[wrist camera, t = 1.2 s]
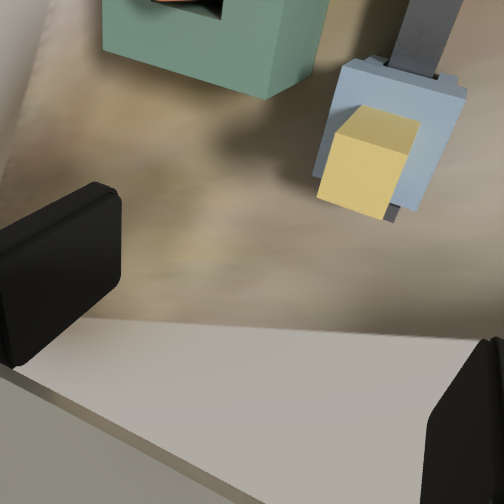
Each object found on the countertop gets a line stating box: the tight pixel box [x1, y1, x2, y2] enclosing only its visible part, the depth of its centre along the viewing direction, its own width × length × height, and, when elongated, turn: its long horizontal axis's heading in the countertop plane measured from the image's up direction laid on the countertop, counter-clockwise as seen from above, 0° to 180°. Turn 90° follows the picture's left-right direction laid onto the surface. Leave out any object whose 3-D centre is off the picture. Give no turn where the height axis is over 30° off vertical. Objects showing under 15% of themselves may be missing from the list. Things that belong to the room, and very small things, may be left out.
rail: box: [383, 0, 463, 223], centre depth 23 cm, size 4×19×5 cm, turn 169°
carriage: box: [312, 54, 467, 220], centre depth 23 cm, size 6×6×11 cm
